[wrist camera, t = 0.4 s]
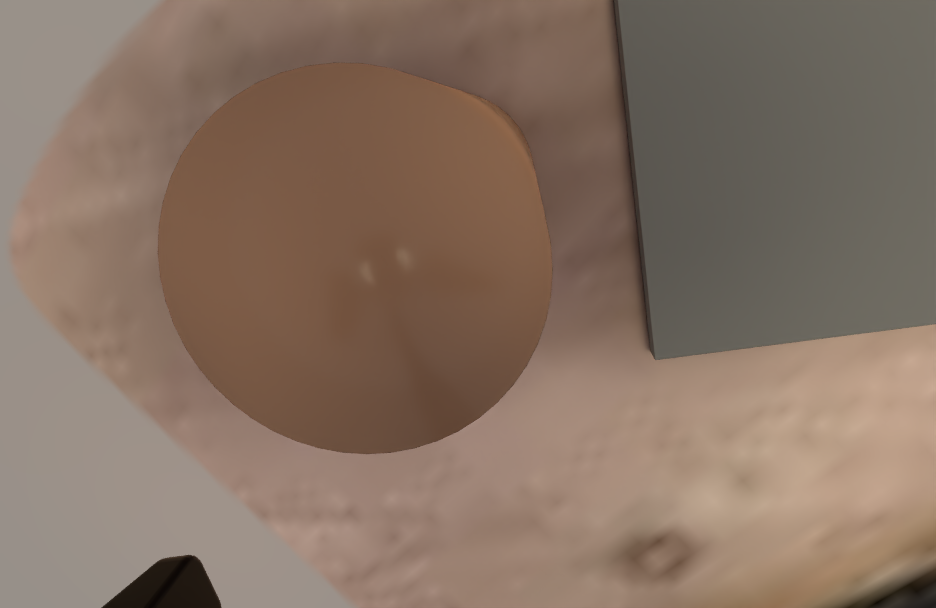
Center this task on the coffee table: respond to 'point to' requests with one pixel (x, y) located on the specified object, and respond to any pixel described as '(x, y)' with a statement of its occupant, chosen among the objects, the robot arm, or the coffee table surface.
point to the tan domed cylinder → (357, 256)
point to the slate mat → (781, 167)
